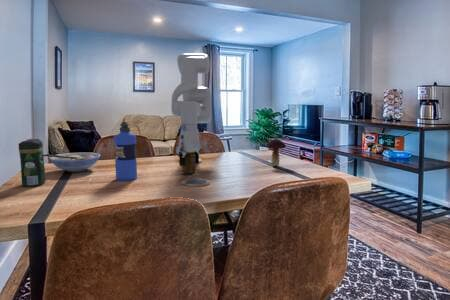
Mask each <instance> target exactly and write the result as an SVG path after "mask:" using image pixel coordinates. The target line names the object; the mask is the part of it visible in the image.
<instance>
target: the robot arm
mask: <svg viewBox="0 0 450 300" xmlns="http://www.w3.org/2000/svg"><path fill="white" fill-rule="evenodd" d="M176 62H177V68H178V70H179V73H180V84H178V85H177V87H175V89H174V90H173V92H172V95H171V113H172V115H173V116H174V117H179V118H180V133H179V139H178V141H179V143H178V146H176V147H175V151H176V155H177V158H179V163H178V164H179V166H182V167H183V166H185V157H184V156H185V154H186V153H192V152H195V153H194V154H195V158H196V159H195V164H199V163H202V159H201V158H200V153H201V151H202V144H201V140H200V135H199V133H200V132H199V129H198V124H209V123H210V122H211V120H212V91H211V89H210V88H209V87H206V86H199V74H201V75H202V74H206V75H207V74H208V73H209V72H210V67H211V66H210V65H211V63H210V57H209V55H208V54H207V53H181V54H178V56H177V59H176ZM181 96H182V100H178V99H179V98H180V97H181Z"/></svg>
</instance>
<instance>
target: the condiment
mask: <svg viewBox="0 0 450 300" xmlns="http://www.w3.org/2000/svg"><path fill="white" fill-rule="evenodd" d="M194 153H195V152H192V153H186V154H185V156H184V157H185V166H182V171H180V172H179V174H181V175H183V176H185V177H186V176H187V177H191V176H193V174H195V173H196V175H195V176H199V175H200V174H199V173H198V172H196V164H197V163H195V159H196V158H195V154H194ZM193 177H194V176H193Z"/></svg>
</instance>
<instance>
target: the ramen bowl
mask: <svg viewBox="0 0 450 300" xmlns="http://www.w3.org/2000/svg"><path fill="white" fill-rule="evenodd" d="M43 157H48V158H49V160H50V161H51V163H52V164H53V165H54V166H55V167H56V168H58V169H60V170H64V171H67V172H69V173H80V172H84V171H85V170H87V169H89V168H92V167H93V166H94V165H95V164H97V162H98V161H99V159H100V157H101V154H100V153H96V152H68V153H67V152H66V153H58V154H50V153H46V154H43Z"/></svg>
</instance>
